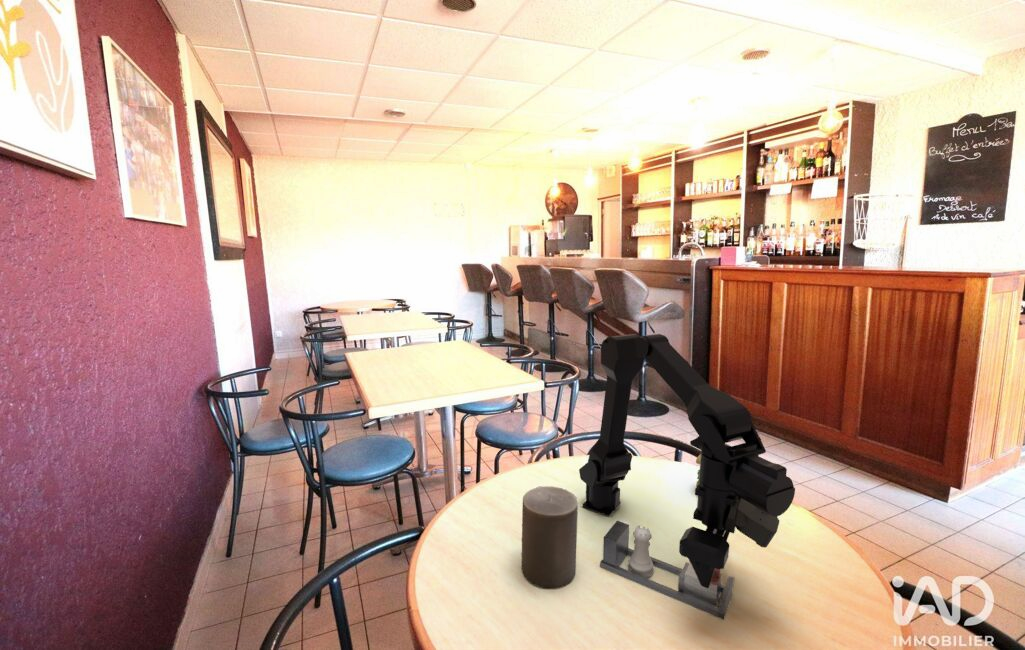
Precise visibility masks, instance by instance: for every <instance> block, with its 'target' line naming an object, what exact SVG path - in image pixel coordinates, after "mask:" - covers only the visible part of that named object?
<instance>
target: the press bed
mask: <svg viewBox="0 0 1025 650" xmlns="http://www.w3.org/2000/svg"><path fill="white" fill-rule="evenodd" d="M629 543H630V524H628V523H624V522H622V521H620V520H616V521H615V523H613V525H612V526H611V528H609V530H608V531H607V532H606V533H605V535H604V536H603V546H602V547H603V548H602V549H603V551H602V552H603V553H602V559H601V560H600V562H599V567H600V568H601V569H604V570H606V571H609V572H611V573H613V574H615V575H618V576H621V577H623V578H624V579H628V580H629V581H632V582H633V583H636V584H639V585H641V586H643V587H646V588H648V589H651V590H653V591H655V592H657V593H660V594H663V595H665V596H667V597H669V598H672V599H674V600H676V601H679V602H681V603H684V604H686V605H688V606H690V607H693V608H695V609H698V610H700V611H702V612H705V613H707V614H709V615H711V616H713V617H715V618H719V619H721V620H722V621H724V620H725V618H726V617H725V616H726V614H727V611H728V609H729V605H730V602H731V600H732V596H733V592H734V591H733V590H734V581H735V577H733V576H730V575H728V577H727V579H726V582H725V584H723V583H721V592H720V597H719V605H718V607H717V606H716V607H715V606H712V605H710V604H707V603H705V602H703V601H700V600H698V599H695V598H693V597H691V596H688V595H686V594H683V593H681V592H679V591H678V590H676V589H673V588H671V587H669V586H667V585H664V584H661V583H659V582H656V581H654V580H652V579H650V578H648V577H647V578H645V577H643V576H640V575H638V574H635V573H633V572H631V571H630V570H629V569H626V568H623V567H621V565H622V564H623V562H624V561H625V559H626V558H627V556H628V557H629V558H630V557H631V555H632V554H633V552H634V549H632V548H630V547H629V545H630V544H629ZM650 557H651V560H652V562H653V567H655V568H658V569H661V570H664V571H665V572H668V573H671V574H673V575H676V576H678V577H679V575H680V573H681V571H682V569H683V568H681V567H679V566H676V565H674V564H671V563H668V562H666V561H663V560H660V559H658V558H656V557H652V556H650Z"/></svg>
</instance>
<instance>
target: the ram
mask: <svg viewBox="0 0 1025 650" xmlns="http://www.w3.org/2000/svg"><path fill="white" fill-rule="evenodd" d="M681 569H682V571H681V573H680V575H679V576H678V585H677V586H678V587H677V588H678V589H677V591H679V592H681V593H683V594H686V595H688V596H691V597H693V598H695V599H698V600H700V601H703V602H705V603H707V604H710V605H712V606H715V607H717V605H718V601H720V598H721V584H722V580H723V579H722V578H723V577H722V576H723V573H722V572H721V570H722V569H716V568H715V570H714V573H713V576H712V579H711V583H710V586H709V588H705V587H703V586H701V584H700V582H699V580H698V578H697V575H696V573H695V571H694V569H693V567H692V565H691V563H690V562H686V561H685V563H684V564H683V567H682V568H681Z"/></svg>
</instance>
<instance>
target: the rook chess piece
mask: <svg viewBox="0 0 1025 650" xmlns="http://www.w3.org/2000/svg"><path fill="white" fill-rule="evenodd" d="M632 536H633V538H634V539H633V544H634V547H633V550H634V552H633V554H632V555H631V557H630V556H629V559H628V564H627V570H628V571H631V572H633V573H635V574H638V575H640V576H643V577H645V578H647V579H648V578H649V577H650V576H652V575H653V573H654V571H655V570H654V566H653V562H652V560H651V557H652V556H651V555H650V550H649V549H650V546H651V542H650V540H652V538H653V536H652V533H651V531H650V528H648V527H647V528H646V526H644V525H643V526H642V527H641V525H637V527H635V528H634V530H633V532H632Z"/></svg>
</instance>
